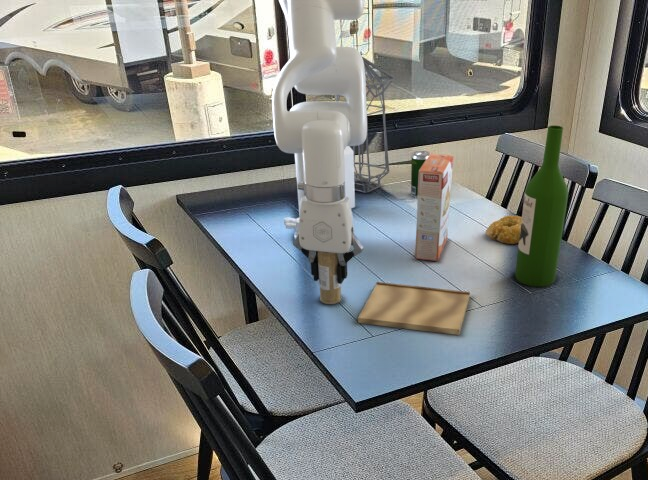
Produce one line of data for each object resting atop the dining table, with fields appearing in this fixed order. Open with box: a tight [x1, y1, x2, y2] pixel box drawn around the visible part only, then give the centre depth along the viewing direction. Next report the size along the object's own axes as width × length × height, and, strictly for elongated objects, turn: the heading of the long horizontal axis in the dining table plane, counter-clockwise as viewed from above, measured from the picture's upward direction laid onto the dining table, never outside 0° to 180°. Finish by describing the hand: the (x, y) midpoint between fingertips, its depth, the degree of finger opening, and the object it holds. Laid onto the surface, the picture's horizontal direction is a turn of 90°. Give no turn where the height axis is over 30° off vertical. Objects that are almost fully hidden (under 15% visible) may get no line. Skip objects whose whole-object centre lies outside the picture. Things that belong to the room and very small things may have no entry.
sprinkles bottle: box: [318, 251, 343, 305], centre depth 138 cm, size 5×5×13 cm
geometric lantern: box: [335, 56, 397, 194], centre depth 191 cm, size 16×16×35 cm
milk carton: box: [344, 146, 356, 209], centre depth 180 cm, size 7×7×19 cm
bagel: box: [485, 214, 522, 245], centre depth 170 cm, size 10×11×5 cm
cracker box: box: [414, 153, 454, 262], centre depth 158 cm, size 14×6×21 cm, turn 168°
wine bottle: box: [514, 125, 569, 288], centre depth 143 cm, size 9×9×32 cm
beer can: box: [410, 150, 431, 199], centre depth 192 cm, size 5×5×12 cm
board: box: [357, 281, 471, 336], centre depth 138 cm, size 20×16×2 cm
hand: (329, 278), depth 139 cm, fingers closed on sprinkles bottle, 4 cm apart
